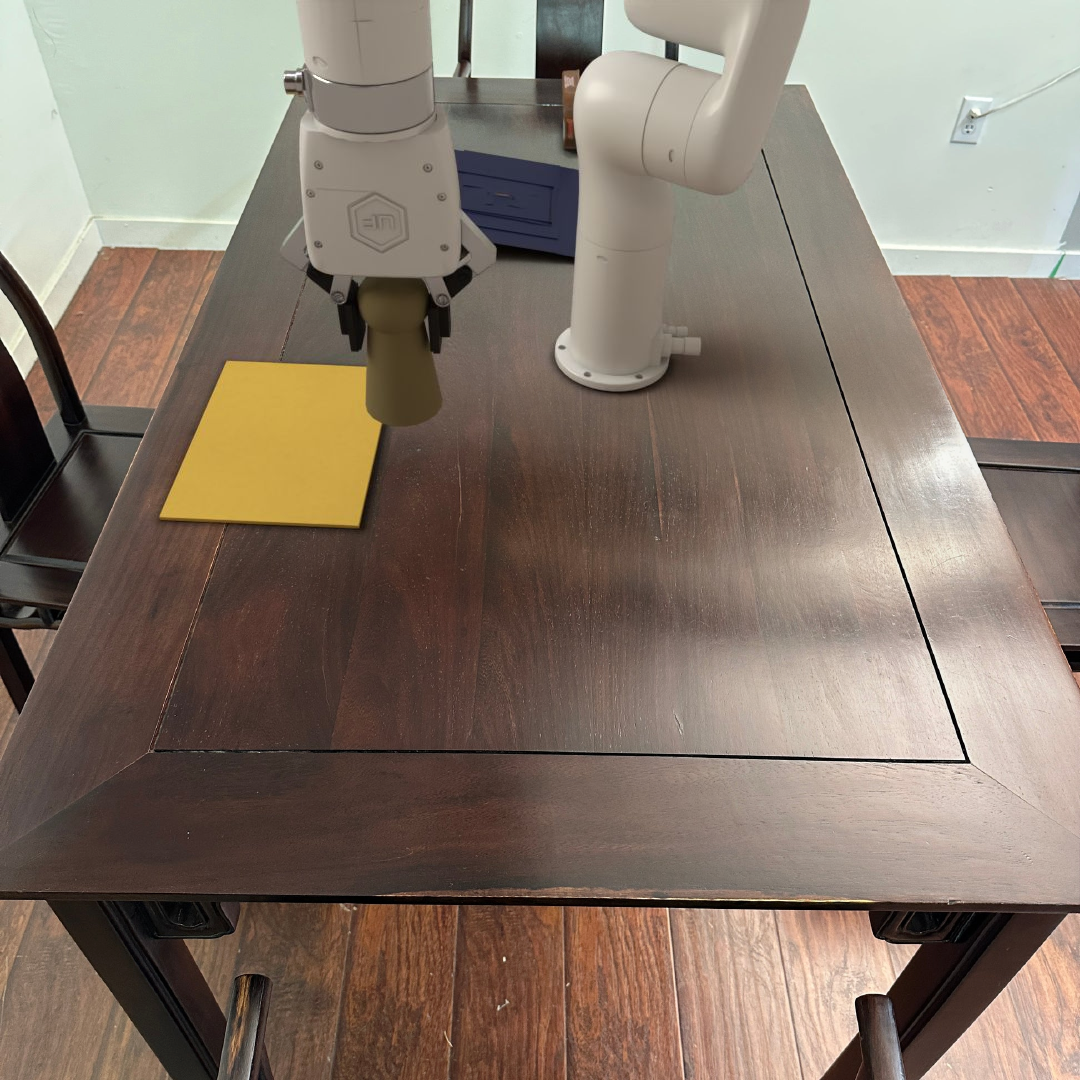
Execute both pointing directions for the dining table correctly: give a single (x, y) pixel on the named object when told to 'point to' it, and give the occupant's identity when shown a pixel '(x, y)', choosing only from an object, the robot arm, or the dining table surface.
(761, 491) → the dining table surface
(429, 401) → the tan pawn
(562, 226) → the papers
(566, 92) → the tin
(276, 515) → the board
